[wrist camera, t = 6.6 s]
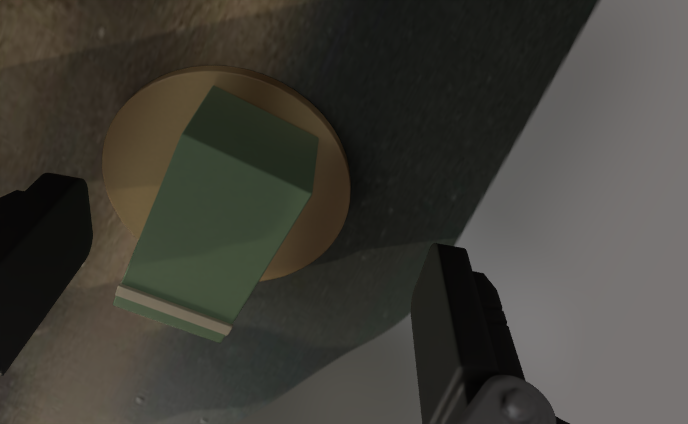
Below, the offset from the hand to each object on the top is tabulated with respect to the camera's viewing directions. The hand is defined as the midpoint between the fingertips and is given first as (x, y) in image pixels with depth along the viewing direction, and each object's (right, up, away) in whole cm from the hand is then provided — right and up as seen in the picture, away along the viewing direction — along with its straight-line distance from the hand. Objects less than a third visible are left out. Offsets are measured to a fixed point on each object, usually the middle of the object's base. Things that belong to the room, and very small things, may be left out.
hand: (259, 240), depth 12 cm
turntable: (-5, +3, +20) cm, 20 cm away
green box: (-5, +2, +19) cm, 19 cm away
